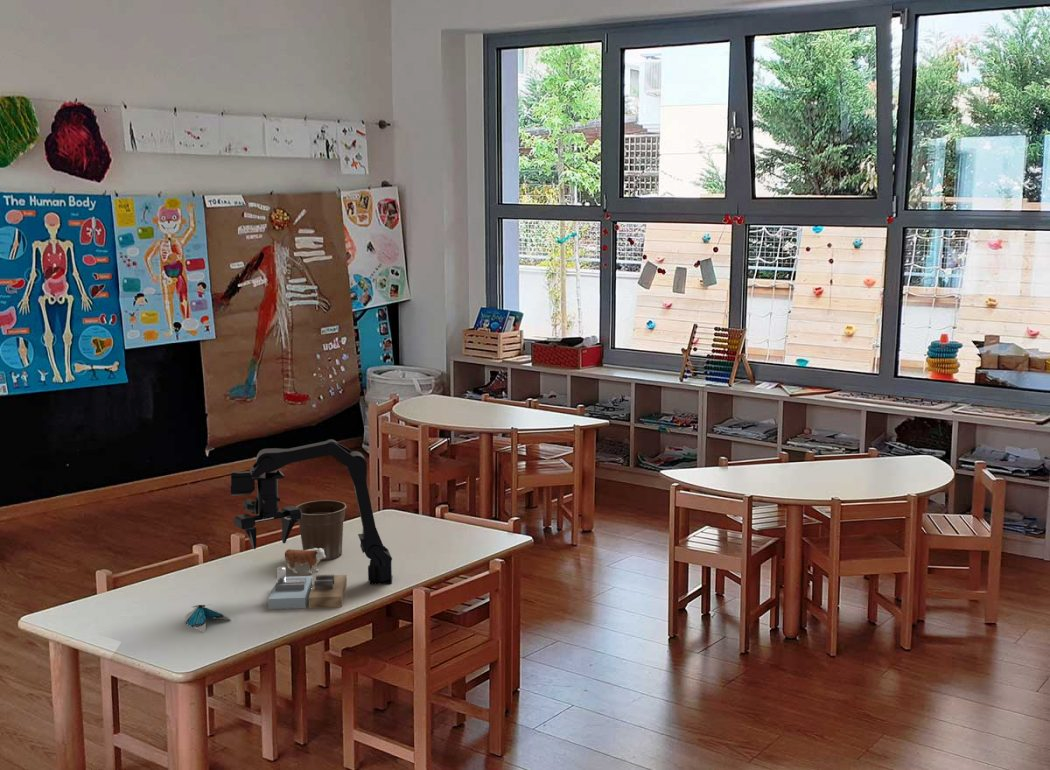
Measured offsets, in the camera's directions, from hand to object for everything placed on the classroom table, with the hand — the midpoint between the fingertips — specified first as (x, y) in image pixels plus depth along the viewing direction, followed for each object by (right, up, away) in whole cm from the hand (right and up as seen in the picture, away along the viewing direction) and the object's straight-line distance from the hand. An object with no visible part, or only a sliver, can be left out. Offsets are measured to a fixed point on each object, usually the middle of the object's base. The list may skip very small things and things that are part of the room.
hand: (269, 546), depth 312 cm
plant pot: (+9, -8, +34) cm, 36 cm away
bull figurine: (+7, -11, +18) cm, 23 cm away
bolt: (+7, -11, -3) cm, 13 cm away
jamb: (+17, -14, -2) cm, 22 cm away
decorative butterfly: (-12, -18, -21) cm, 30 cm away
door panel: (+7, -14, -3) cm, 16 cm away
